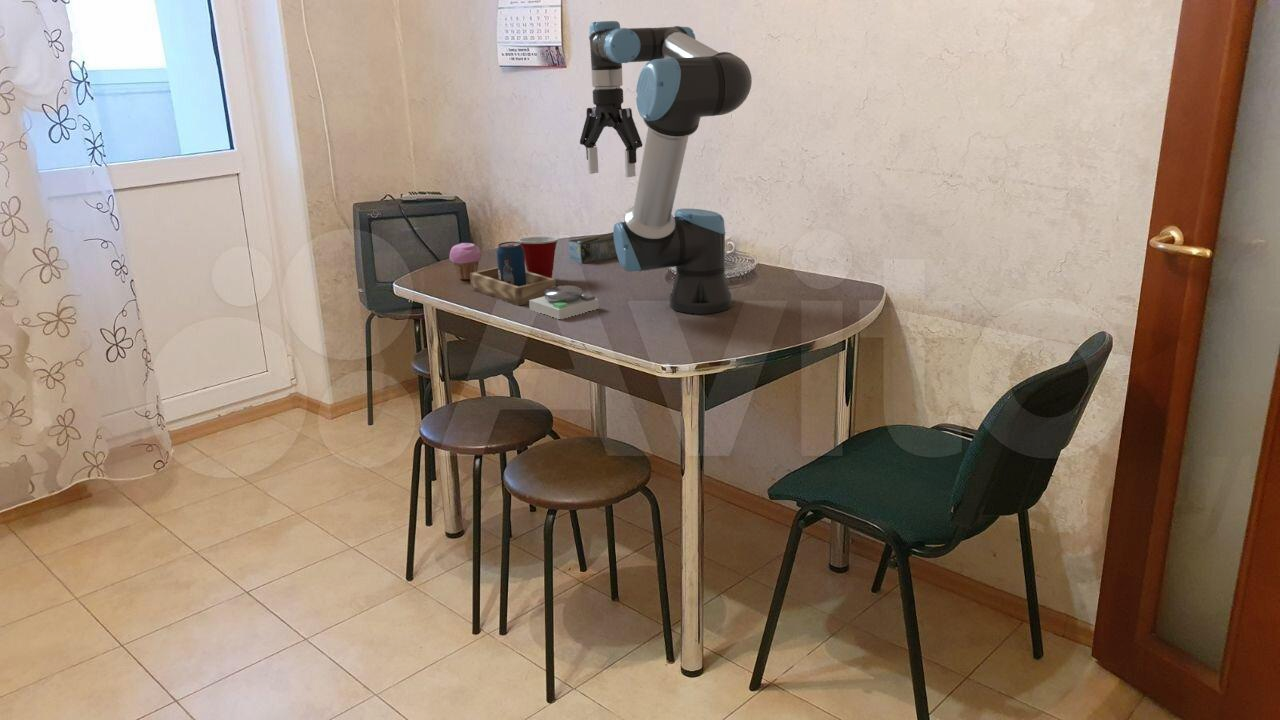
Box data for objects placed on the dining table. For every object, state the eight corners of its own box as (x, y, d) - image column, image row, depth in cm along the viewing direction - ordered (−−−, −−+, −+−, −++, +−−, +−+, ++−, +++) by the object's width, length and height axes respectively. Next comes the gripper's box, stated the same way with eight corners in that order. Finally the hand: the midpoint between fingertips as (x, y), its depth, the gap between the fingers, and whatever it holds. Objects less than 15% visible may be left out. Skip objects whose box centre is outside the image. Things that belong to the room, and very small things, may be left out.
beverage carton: (567, 259, 277) (566, 237, 275) (622, 250, 287) (621, 228, 285) (581, 264, 271) (580, 242, 268) (636, 254, 280) (635, 232, 278)
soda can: (522, 284, 247) (519, 239, 243) (529, 290, 241) (526, 245, 237) (496, 287, 245) (493, 243, 241) (503, 294, 239) (499, 248, 235)
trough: (555, 296, 239) (554, 279, 238) (518, 305, 232) (517, 288, 231) (507, 281, 255) (506, 265, 253) (471, 289, 248) (469, 273, 246)
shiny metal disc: (589, 296, 227) (589, 290, 226) (559, 304, 221) (559, 298, 220) (566, 289, 233) (566, 283, 232) (537, 296, 227) (537, 291, 227)
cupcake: (483, 281, 256) (480, 245, 252) (451, 283, 255) (447, 247, 251) (483, 273, 264) (480, 238, 260) (452, 275, 263) (448, 240, 259)
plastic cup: (564, 275, 258) (561, 233, 254) (557, 286, 248) (554, 242, 244) (525, 276, 259) (522, 233, 255) (517, 286, 249) (513, 242, 245)
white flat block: (598, 309, 228) (598, 296, 226) (559, 320, 220) (558, 306, 219) (568, 299, 236) (567, 287, 235) (529, 310, 229) (528, 297, 227)
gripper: (654, 87, 224) (657, 176, 231) (584, 86, 241) (589, 170, 248) (632, 88, 219) (636, 180, 226) (562, 88, 236) (568, 173, 243)
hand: (611, 175), depth 237 cm, fingers open, 13 cm apart
